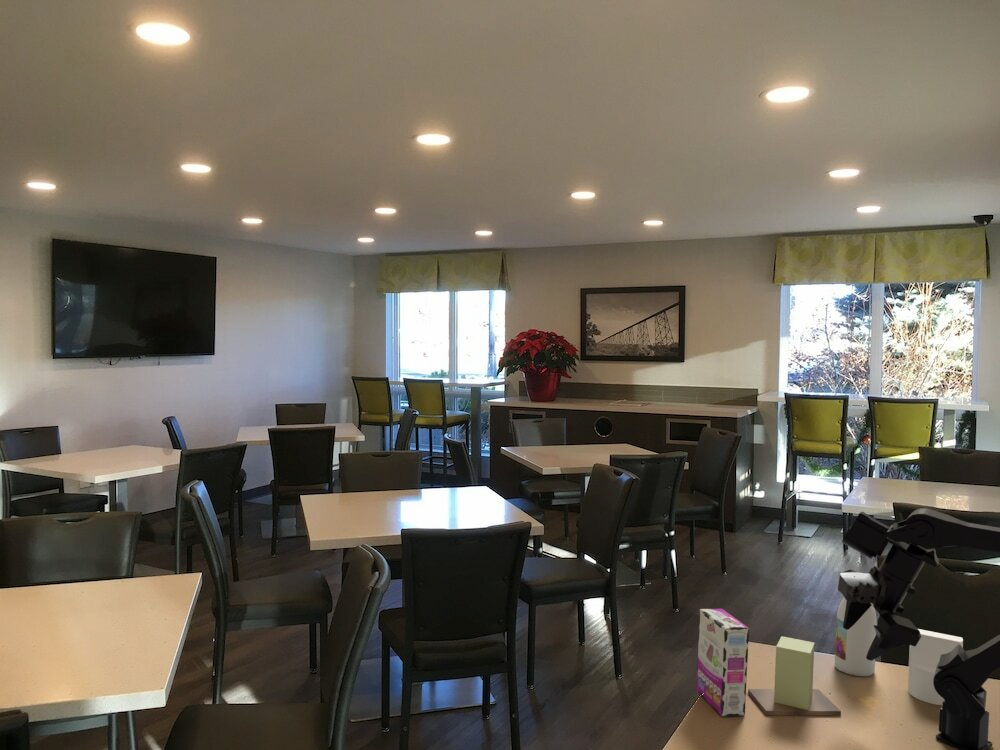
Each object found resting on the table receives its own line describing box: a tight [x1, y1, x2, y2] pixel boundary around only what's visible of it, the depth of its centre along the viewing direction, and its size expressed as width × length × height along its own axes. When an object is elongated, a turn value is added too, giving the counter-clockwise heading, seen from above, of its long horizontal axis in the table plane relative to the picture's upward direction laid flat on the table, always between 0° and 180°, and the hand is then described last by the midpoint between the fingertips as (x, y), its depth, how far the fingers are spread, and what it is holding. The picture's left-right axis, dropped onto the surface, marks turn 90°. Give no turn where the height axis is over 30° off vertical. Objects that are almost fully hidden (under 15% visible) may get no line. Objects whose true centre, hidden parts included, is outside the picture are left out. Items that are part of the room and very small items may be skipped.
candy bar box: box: [696, 608, 750, 718], centre depth 146 cm, size 11×5×16 cm, turn 10°
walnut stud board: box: [747, 688, 842, 716], centre depth 147 cm, size 14×9×4 cm, turn 93°
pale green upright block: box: [773, 636, 816, 710], centre depth 147 cm, size 6×6×11 cm
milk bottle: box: [834, 597, 878, 677], centre depth 163 cm, size 8×8×20 cm
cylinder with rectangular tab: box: [907, 628, 964, 706], centre depth 152 cm, size 9×9×12 cm
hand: (856, 643), depth 143 cm, fingers open, 9 cm apart
